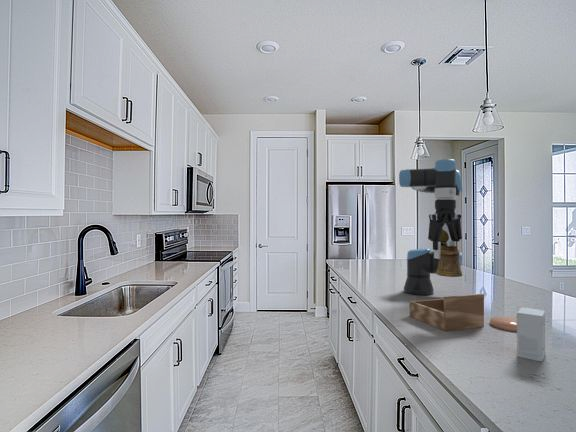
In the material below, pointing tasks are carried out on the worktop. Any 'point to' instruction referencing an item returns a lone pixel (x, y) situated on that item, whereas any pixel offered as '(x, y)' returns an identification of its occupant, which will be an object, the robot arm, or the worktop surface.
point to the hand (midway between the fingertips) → (445, 258)
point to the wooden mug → (448, 258)
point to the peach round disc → (504, 323)
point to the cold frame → (450, 312)
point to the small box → (531, 334)
